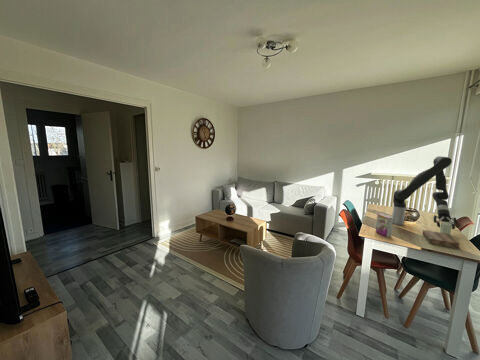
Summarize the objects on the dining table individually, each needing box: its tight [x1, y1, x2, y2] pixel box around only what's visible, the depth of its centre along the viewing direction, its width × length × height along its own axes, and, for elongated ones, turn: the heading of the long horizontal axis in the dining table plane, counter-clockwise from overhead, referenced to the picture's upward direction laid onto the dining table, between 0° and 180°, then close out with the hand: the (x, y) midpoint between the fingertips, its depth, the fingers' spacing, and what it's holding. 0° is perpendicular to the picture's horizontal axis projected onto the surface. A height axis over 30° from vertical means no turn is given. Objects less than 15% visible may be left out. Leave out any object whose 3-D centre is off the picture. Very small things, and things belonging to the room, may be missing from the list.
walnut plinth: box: [422, 229, 460, 249], centre depth 160 cm, size 16×20×4 cm
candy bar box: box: [375, 213, 394, 238], centre depth 171 cm, size 11×5×16 cm, turn 9°
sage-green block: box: [439, 221, 452, 235], centre depth 171 cm, size 5×5×10 cm
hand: (446, 228), depth 170 cm, fingers open, 8 cm apart
